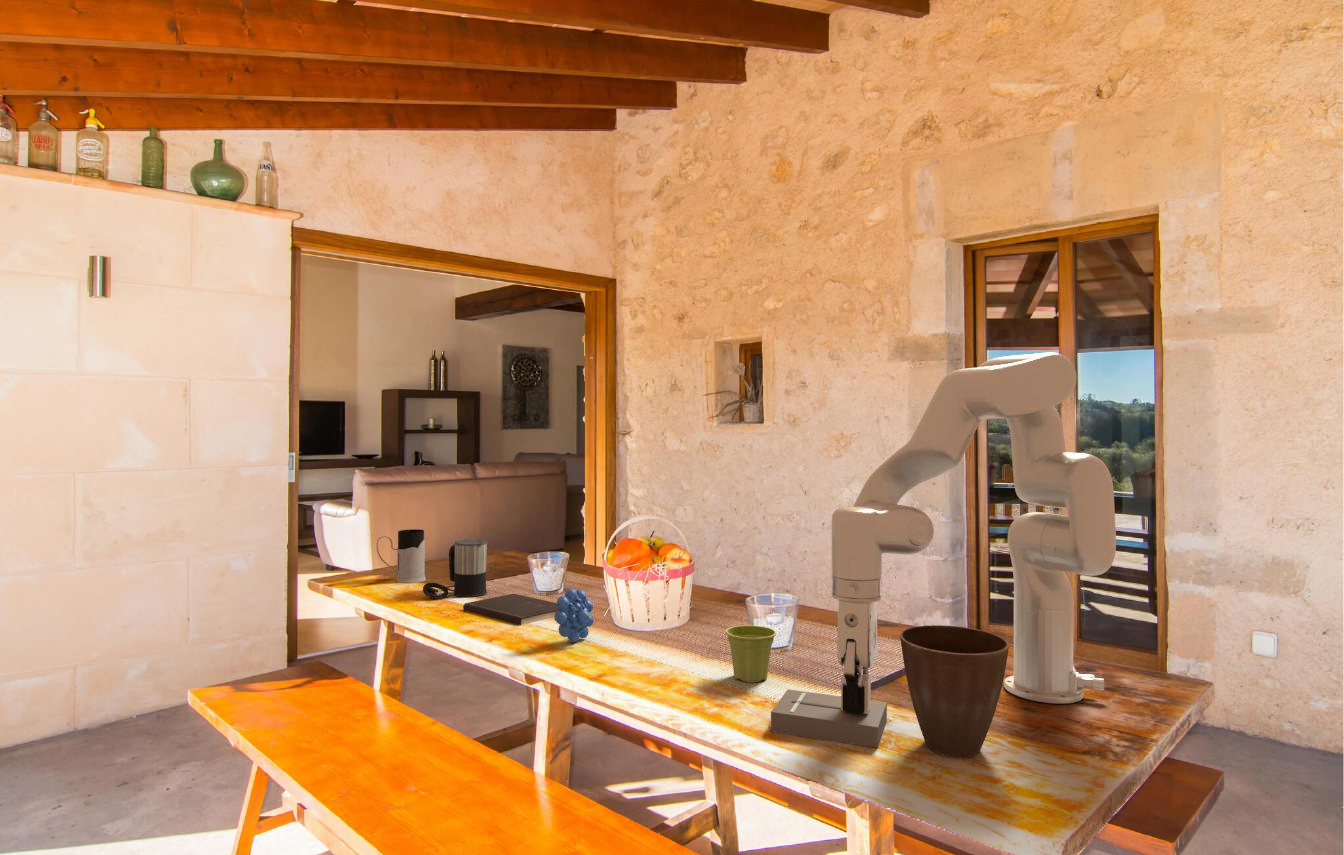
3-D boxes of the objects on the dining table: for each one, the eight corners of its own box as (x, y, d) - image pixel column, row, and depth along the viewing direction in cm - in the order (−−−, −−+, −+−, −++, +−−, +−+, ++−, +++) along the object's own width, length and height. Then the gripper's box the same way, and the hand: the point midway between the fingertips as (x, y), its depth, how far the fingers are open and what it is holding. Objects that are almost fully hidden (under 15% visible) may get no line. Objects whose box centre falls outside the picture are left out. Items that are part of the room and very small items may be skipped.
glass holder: (426, 582, 232) (426, 532, 232) (375, 585, 227) (375, 534, 227) (426, 576, 240) (426, 528, 240) (377, 579, 235) (377, 530, 235)
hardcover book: (513, 601, 208) (513, 593, 208) (571, 615, 193) (571, 606, 193) (462, 612, 196) (463, 603, 196) (520, 627, 181) (520, 618, 181)
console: (886, 721, 123) (886, 701, 123) (878, 747, 112) (878, 726, 112) (787, 707, 129) (787, 688, 129) (770, 731, 118) (770, 711, 118)
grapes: (570, 651, 160) (570, 594, 160) (547, 646, 164) (547, 590, 164) (607, 639, 169) (607, 584, 169) (584, 634, 173) (584, 581, 173)
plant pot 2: (1029, 768, 106) (1030, 651, 106) (924, 772, 104) (924, 654, 104) (978, 726, 121) (978, 624, 121) (884, 729, 119) (885, 625, 119)
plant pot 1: (724, 669, 149) (724, 624, 149) (773, 670, 148) (773, 624, 148) (726, 685, 139) (726, 637, 139) (778, 686, 139) (778, 638, 139)
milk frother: (494, 592, 218) (494, 539, 218) (456, 604, 203) (457, 547, 203) (454, 588, 224) (454, 536, 224) (415, 598, 209) (415, 544, 209)
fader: (870, 707, 120) (870, 674, 120) (867, 713, 117) (867, 680, 117) (844, 703, 121) (844, 671, 121) (841, 710, 118) (841, 677, 118)
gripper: (874, 601, 110) (873, 729, 110) (887, 579, 125) (887, 692, 125) (821, 596, 113) (821, 722, 113) (841, 576, 128) (840, 686, 128)
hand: (855, 705), depth 119 cm, fingers open, 4 cm apart
